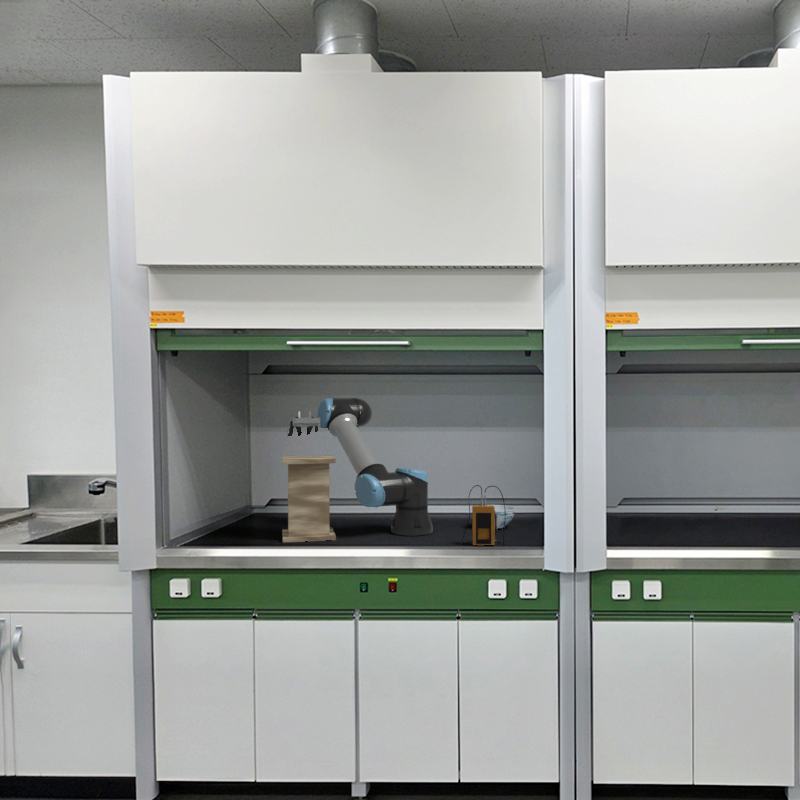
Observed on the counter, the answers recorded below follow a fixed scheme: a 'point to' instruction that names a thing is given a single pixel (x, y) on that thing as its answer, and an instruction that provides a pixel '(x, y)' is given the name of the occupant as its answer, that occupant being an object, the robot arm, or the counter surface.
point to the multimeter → (484, 522)
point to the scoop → (306, 421)
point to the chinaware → (503, 514)
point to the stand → (308, 499)
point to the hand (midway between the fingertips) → (304, 414)
